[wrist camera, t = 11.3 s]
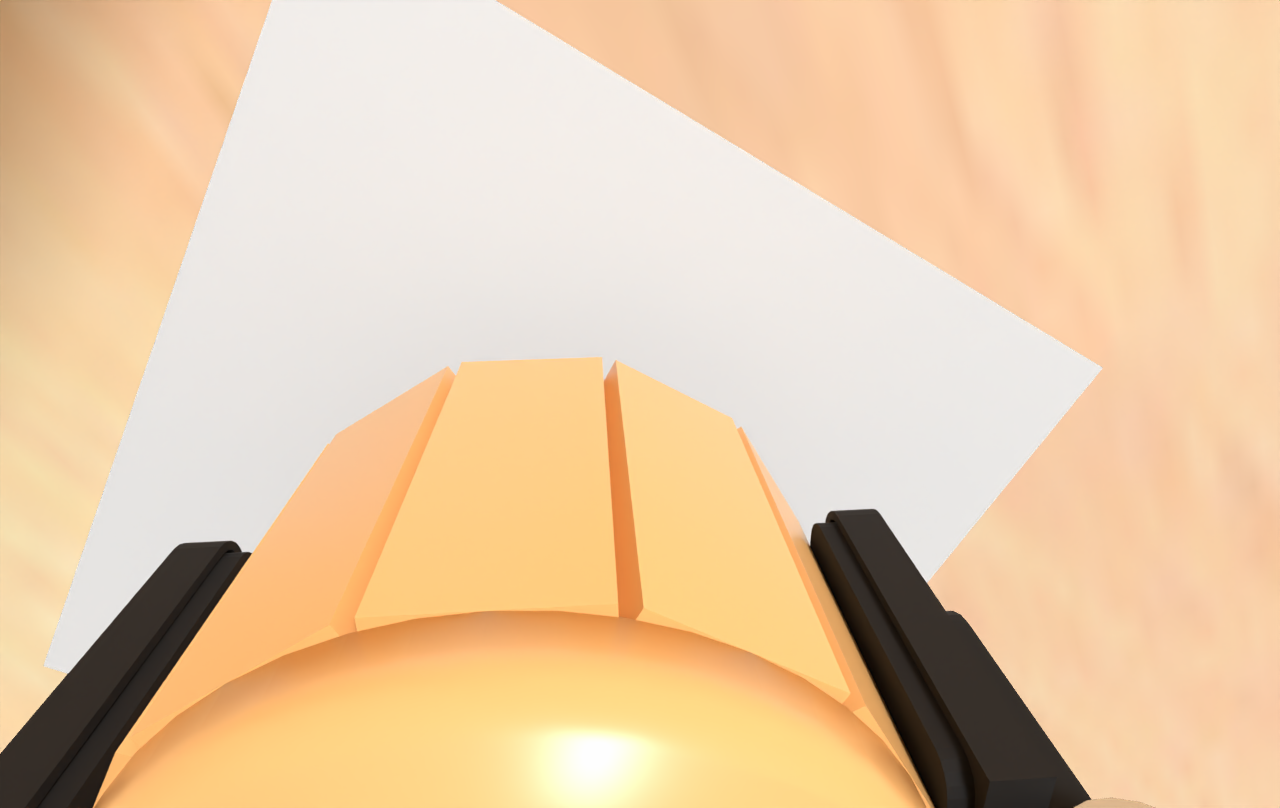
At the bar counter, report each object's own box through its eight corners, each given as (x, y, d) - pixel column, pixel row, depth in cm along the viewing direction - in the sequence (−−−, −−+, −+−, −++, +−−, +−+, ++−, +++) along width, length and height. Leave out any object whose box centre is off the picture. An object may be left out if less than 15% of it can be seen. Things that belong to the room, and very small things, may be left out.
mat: (66, 639, 13) (43, 666, 12) (327, -101, 9) (309, -112, 8) (686, 843, 16) (690, 872, 15) (1078, 354, 12) (1102, 368, 11)
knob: (237, 369, 9) (-427, 938, 3) (815, 349, 9) (1208, 820, 3) (336, 792, 11) (84, 1523, 6) (781, 763, 12) (972, 1423, 6)
